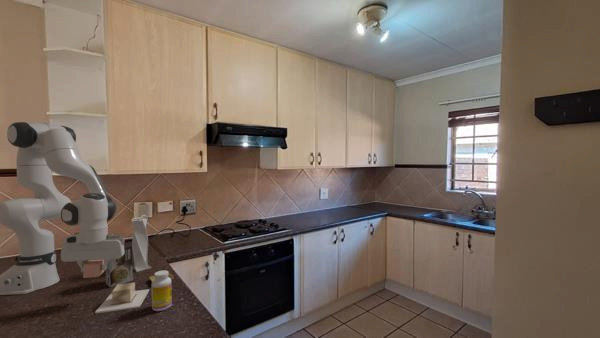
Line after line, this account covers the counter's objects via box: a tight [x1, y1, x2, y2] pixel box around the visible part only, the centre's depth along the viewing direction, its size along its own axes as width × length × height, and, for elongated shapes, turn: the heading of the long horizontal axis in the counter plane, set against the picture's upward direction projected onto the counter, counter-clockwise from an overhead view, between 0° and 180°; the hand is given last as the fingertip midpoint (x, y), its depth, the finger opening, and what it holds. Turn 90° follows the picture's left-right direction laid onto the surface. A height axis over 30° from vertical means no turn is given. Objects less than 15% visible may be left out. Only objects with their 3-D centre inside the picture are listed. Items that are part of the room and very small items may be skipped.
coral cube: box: [82, 259, 105, 279], centre depth 106 cm, size 5×5×5 cm
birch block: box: [111, 282, 136, 305], centre depth 105 cm, size 6×6×5 cm
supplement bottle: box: [151, 269, 173, 312], centre depth 100 cm, size 7×7×13 cm
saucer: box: [149, 271, 175, 283], centre depth 123 cm, size 9×9×2 cm
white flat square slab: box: [94, 288, 150, 315], centre depth 105 cm, size 14×14×1 cm
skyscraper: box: [131, 214, 153, 273], centre depth 137 cm, size 8×8×28 cm
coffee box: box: [105, 243, 134, 288], centre depth 122 cm, size 9×6×16 cm
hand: (93, 270), depth 106 cm, fingers closed on coral cube, 5 cm apart
